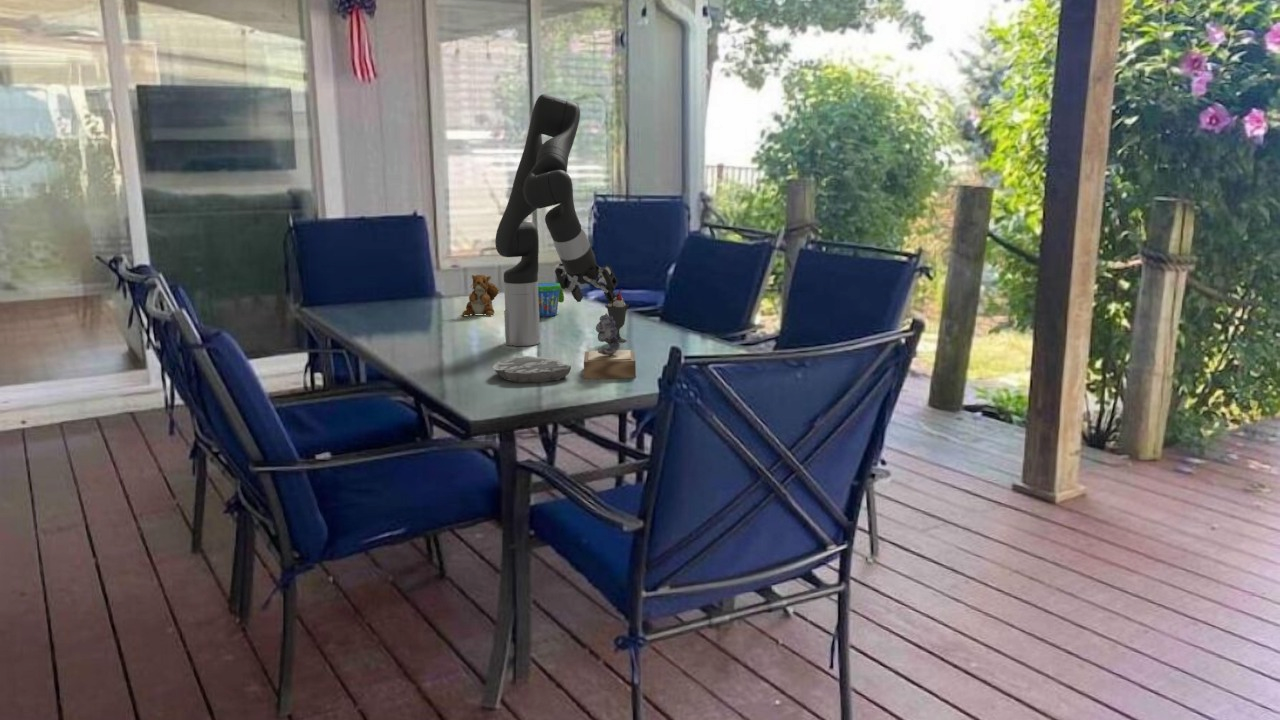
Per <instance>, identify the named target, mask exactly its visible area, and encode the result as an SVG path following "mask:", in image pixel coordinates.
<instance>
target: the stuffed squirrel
mask: <svg viewBox="0 0 1280 720" xmlns="http://www.w3.org/2000/svg"><path fill="white" fill-rule="evenodd" d="M491 279H492V276H491V275H489V276H487V275H484V274H475V275H474V274H471V280H472V284H471V286H470V289H471V288H472V292H471V294H469V296H468V300H469V301H468V302H467V304H466V305H465V308H466V309H465V310H463V311H462V313H461V314H462V316H463V315H470V314H486V315H493V314H494V315H495V309H494V306H493V301H494V300H495V298H496V297H497V296H498V294H500V293H499V292H500V289H498V286H496V285H495V284H494V283H493V282H490V281H491ZM494 315H493V316H494Z"/></svg>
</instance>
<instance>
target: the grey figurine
mask: <svg viewBox="0 0 1280 720" xmlns="http://www.w3.org/2000/svg"><path fill="white" fill-rule="evenodd" d="M614 326H615V321H614V320H613V317H612V316H609V315H608V312H607V313H605V314H604V315H603V314H602V315H601V316H600V317H599V322H598V323H597V324H596V326H595V330H596V332H597V333H598V334H597V340H598V341H599V342H600V343H602V342H603V343H604V342H605V343H606V344H608V345H609V347H608V348H605V347H604V346H601V348H599V349H597V351H598V353H601V354H603V355H613V354H614V353H616V351H617V350H620V346H621V343H619V341H618V339H617V337H616V335H617V332H618V331H617V329H616V327H614Z"/></svg>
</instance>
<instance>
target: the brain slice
mask: <svg viewBox="0 0 1280 720" xmlns="http://www.w3.org/2000/svg"><path fill="white" fill-rule="evenodd" d="M491 368H492V370H493V371H495V373H497V374H499V375H500V376H501V377H502V378H503V379H504V378H505V379H504V380H507V379H510V380H509V381H510V382H512V381H514V382H513V383H521V382H527V383H533V384H534V383H546V382H551V381H559V379H560V380H562V379H564V378H566V376H568V375H569V373H570V372H571V370H572V366H571V365H569V364H565V363H563V362H562V361H561V360H560V359H555V358H552V357H550V358H549V357H539V356H531V355H525V356H524V355H523V356H517V357H511V358H504V359H501V360H499V361H497V362H496V363H495V364H493V366H491Z"/></svg>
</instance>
